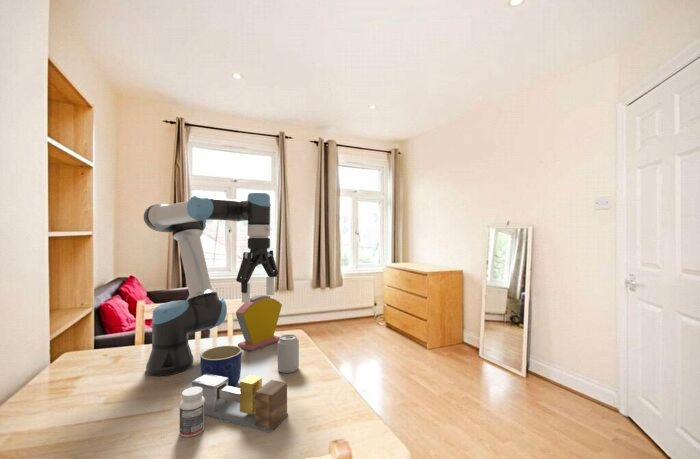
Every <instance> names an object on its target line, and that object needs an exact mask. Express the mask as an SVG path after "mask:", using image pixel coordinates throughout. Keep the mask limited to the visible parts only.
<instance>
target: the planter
mask: <svg viewBox="0 0 700 459" xmlns="http://www.w3.org/2000/svg"><path fill="white" fill-rule="evenodd" d="M242 352H243V351H242V348H240V347H238V345H237V346H236V345H219V346H214V347H211V348H207V349H205V350H204V351H203V352H201V353H200V357H199V359H200V377H201V376H203V375H205V374H211V375H217V376H222V377H227V378H228V386H230V387H235V386H236V385H237V384H238V383H239V382H240V378H241V372H242Z"/></svg>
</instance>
